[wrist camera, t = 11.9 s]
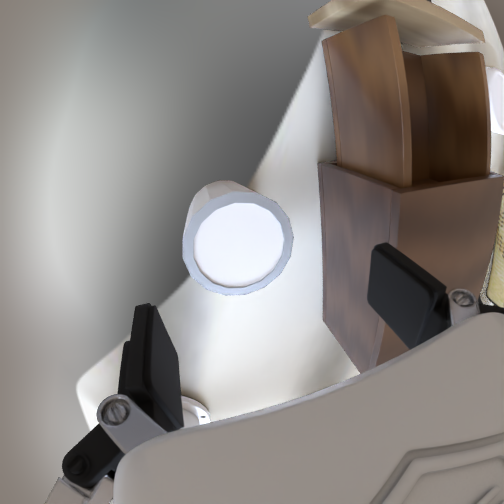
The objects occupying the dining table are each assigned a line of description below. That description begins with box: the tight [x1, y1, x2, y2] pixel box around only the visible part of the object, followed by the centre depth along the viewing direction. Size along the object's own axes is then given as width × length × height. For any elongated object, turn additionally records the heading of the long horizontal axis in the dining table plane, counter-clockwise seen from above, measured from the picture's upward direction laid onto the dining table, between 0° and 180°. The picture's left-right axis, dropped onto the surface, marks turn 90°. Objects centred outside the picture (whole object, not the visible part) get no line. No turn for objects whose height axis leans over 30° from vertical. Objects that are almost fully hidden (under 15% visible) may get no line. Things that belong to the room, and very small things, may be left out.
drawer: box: [308, 0, 491, 189], centre depth 16 cm, size 22×13×9 cm, turn 8°
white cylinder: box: [183, 180, 294, 295], centre depth 20 cm, size 7×7×7 cm
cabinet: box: [317, 161, 504, 374], centre depth 23 cm, size 18×15×11 cm
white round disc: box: [485, 67, 504, 135], centre depth 22 cm, size 10×10×4 cm
